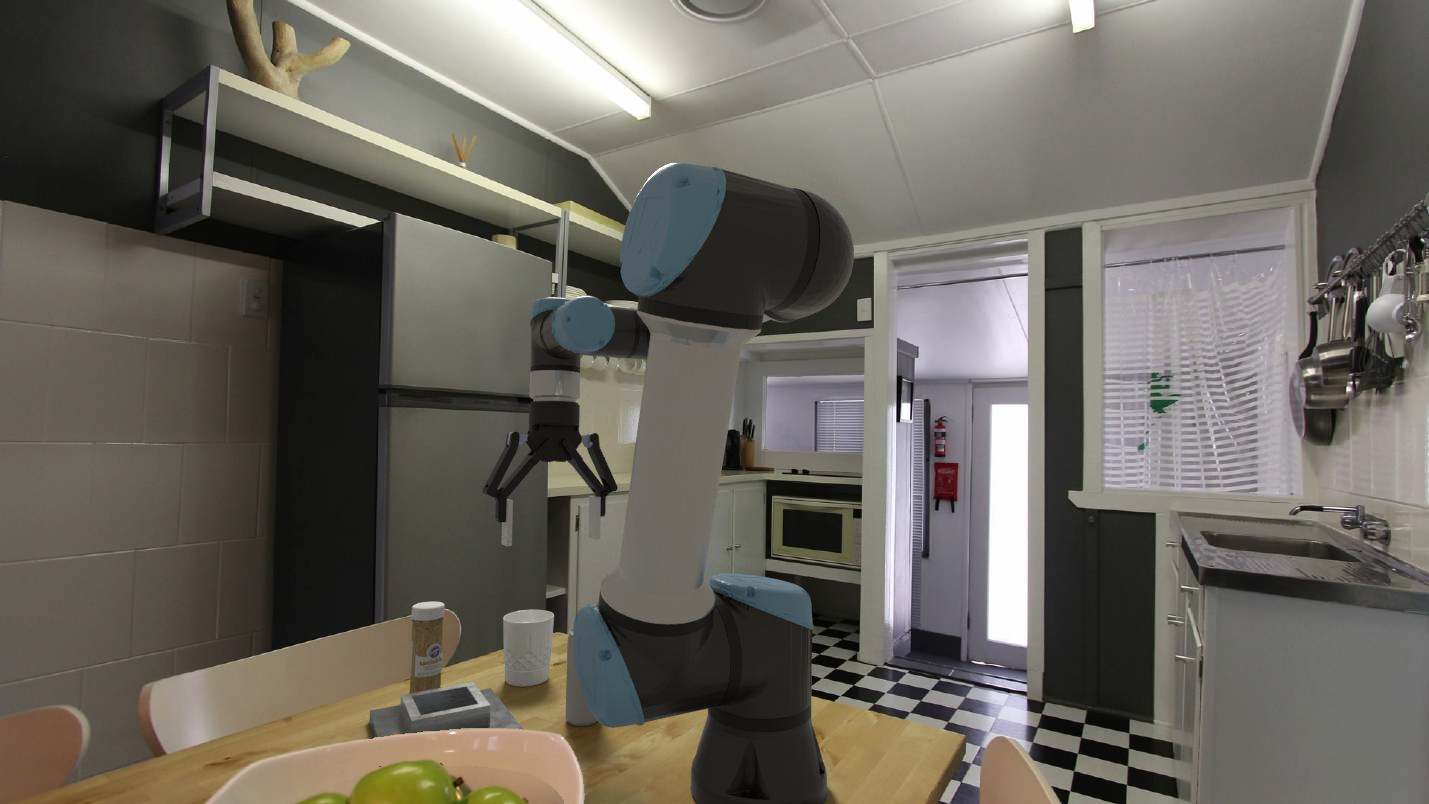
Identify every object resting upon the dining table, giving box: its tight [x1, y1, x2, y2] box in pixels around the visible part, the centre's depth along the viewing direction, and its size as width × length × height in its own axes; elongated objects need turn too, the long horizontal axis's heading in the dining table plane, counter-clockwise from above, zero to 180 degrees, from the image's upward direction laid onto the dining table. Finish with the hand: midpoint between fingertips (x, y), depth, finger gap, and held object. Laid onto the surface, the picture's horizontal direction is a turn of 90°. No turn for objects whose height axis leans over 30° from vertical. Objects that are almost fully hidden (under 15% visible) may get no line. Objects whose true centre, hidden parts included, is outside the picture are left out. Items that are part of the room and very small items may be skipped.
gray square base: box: [369, 681, 524, 738], centre depth 88 cm, size 16×16×4 cm
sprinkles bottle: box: [408, 601, 446, 694], centre depth 100 cm, size 5×5×13 cm
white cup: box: [502, 609, 555, 687], centre depth 107 cm, size 8×8×10 cm
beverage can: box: [565, 628, 598, 727], centre depth 93 cm, size 5×5×12 cm
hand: (552, 541), depth 101 cm, fingers open, 13 cm apart
